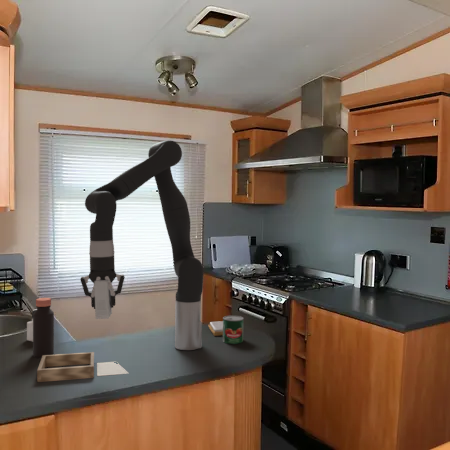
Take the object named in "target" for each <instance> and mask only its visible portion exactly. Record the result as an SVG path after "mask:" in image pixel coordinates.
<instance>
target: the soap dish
mask: <svg viewBox="0 0 450 450" xmlns="http://www.w3.org/2000/svg"><path fill="white" fill-rule="evenodd" d="M207 326H208V328H209V330H210V331H211V334H212V335H213V336H214V337H215V336H217V337H218V336H220V337H221V336H223V320H222V321H210V322H209V324H207Z"/></svg>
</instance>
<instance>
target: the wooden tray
mask: <svg viewBox="0 0 450 450" xmlns="http://www.w3.org/2000/svg"><path fill="white" fill-rule="evenodd" d="M88 364H89V365H88ZM62 366H63V367H62ZM47 367H48V368H47ZM94 375H95V351H90V352H75V353H74V352H73V353H57V354H56V353H55V354H53V355H43V356H42V358H40V362H39V365H38V367H37V371H36V376H37V378H36V379H37V383H43V382H55V381H57V382H58V381H69V380H80V379H81V380H83V379H93V378H94V377H95V376H94Z"/></svg>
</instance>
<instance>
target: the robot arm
mask: <svg viewBox="0 0 450 450" xmlns="http://www.w3.org/2000/svg"><path fill="white" fill-rule="evenodd" d="M147 155H148V158H146V159H145V160H143V161H141V162H139V163H137V164H136V165H133V166H132V167H130V168H129V169H126V170H125V171H123V172H122V173H120V174H119V175H117V176H116V177H114V178H113V180H111V181H109V182H108V183H105V184H104V185H101V186H100V187H98V188H96V189H94V190H93V191H91V192H90V193H88V195H87V196H86V198H85V201H84V206H85V209H86V210H87V211H88V212H89V213H91V214H95V220H94V222H92V223H91V224H90V225H89V271H90V272H89V274H88V275H86V276H80V283H81V286H82V289H83V292H84V295H85V296H86V297H90V299H91V300H90V301H91V308H93V310H95V284H94V282H95V281H100V280H108V282H109V290H110V292H111V308H112V309H113V308H114V306H116V296H117V295H119V294H121V293H122V290H123V286H124V281H125V275H124V274H119V273H116V269H115V244H114V231H113V230H114V229H113V228H114V226H113V225H114V223H115V219H116V218H115V217H116V213H117V202H118V201H120V200H125V199H126V198H128V197H129V196H130V195H132V194H133V193H134V192H135V191H136V190H138V189H139V188H140V187H141V186H143V185H144V184H146V183H147V182H148V181H150V180H151V179H153V178H154V181H155V184H156V188H157V191H158V195H159V200H160V205H161V211H162V214H163V215H162V216H163V219H164V224H165V227H166V228H165V229H166V230H167V235H168V238H169V242H170V245H171V246H170V247H171V250H172V251H171V252H172V259H173V260H172V261H173V269H174V270H173V271H174V273H175V275H176V277H177V280H178V281H177V290H176V293H175V309H174V310H175V311H174V312H175V314H174V315H175V316H174V317H175V319H174V320H175V323H174V324H175V325H174V326H175V327H174V328H175V329H174V347H175V348H176V349H177V350H181V351H194V350H198V349H202V342H203V341H202V339H203V338H202V336H203V334H202V333H203V332H202V331H203V330H202V329H203V327H202V326H203V322H202V321H201V319H202V318H201V312H202V311H201V309H202V306H201V305H202V304H201V303H202V301H201V300H202V294H203V289H204V267H203V263H202V262H201V260H199V259H197V258H196V256H195V255H194V251H193V248H192V243H191V216H190V212H189V211H190V210H189V207H188V202H187V199H186V197H185V196H184V195H183V193H182V191H181V190H180V189H179V187H178V186H177V184H176V182H175V180H174V178H173V173H172V169H171V167H174V166H176V165H177V164H179V163H180V161H181V159H182V158H183V157H182V156H183V152H182V147H181V146H180V144H179V143H178V142H176V141H174V140H170V139H169V140H164V141H163V140H162V141H160V142H157V143H154V144H152V145H151V146H150V148H149V150H148V153H147ZM115 279H117V281H118V284H117V287H116V289H115V288H114V287H113V282H114V280H115ZM89 280H90V281H91V282H92V284H93V287H92V289H91V291H89V287H88V285H87V284H88V282H89Z"/></svg>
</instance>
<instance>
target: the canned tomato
mask: <svg viewBox="0 0 450 450" xmlns="http://www.w3.org/2000/svg"><path fill="white" fill-rule="evenodd" d="M244 319H245V318H244V317H243V316H241V315H225V316H223V317H222V321H223V328H222V329H223V335H222V342H223V343H224V344H227V345H228V344H229V345H238V344H241V343H243V342H244Z"/></svg>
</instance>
